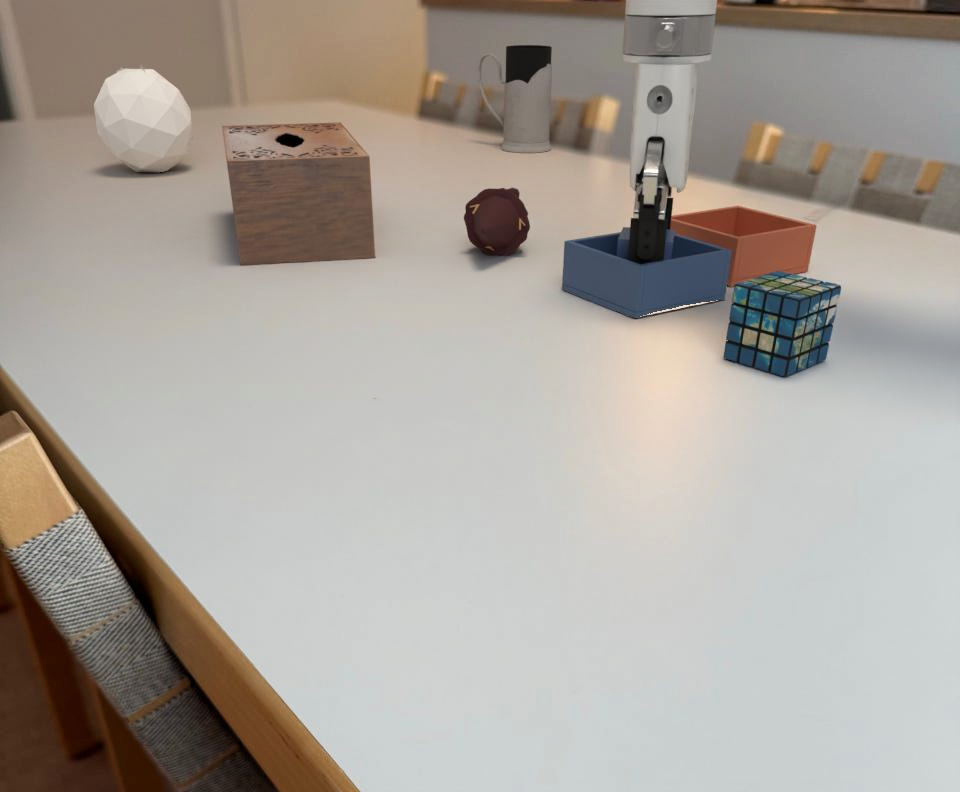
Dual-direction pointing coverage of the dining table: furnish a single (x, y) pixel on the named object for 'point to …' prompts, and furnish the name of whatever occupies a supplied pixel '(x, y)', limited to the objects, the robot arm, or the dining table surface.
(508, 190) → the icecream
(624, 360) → the dining table surface
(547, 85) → the glass holder
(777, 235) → the terracotta bin
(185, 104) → the geodesic sphere
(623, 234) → the blue block
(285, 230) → the tissue box cover
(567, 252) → the blue bin
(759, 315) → the puzzle
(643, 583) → the dining table surface
